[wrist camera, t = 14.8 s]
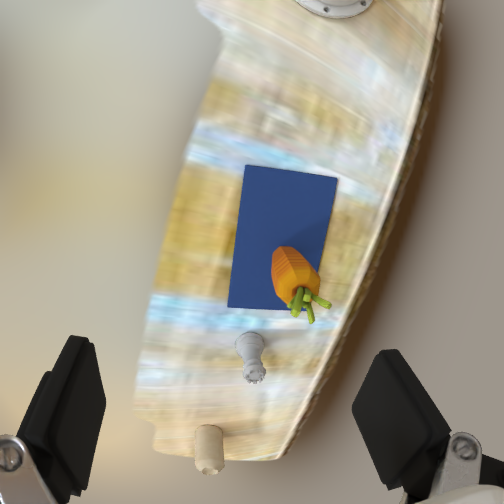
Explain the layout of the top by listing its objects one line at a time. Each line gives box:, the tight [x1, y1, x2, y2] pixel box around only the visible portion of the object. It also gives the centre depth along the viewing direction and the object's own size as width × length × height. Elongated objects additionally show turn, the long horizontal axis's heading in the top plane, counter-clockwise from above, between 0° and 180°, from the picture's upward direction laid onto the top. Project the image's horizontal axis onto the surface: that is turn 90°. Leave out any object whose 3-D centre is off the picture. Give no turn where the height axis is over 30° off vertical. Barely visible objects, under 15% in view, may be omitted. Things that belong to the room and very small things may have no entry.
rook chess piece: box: [235, 333, 266, 384], centre depth 46 cm, size 4×4×8 cm
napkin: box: [227, 165, 337, 311], centre depth 43 cm, size 20×12×1 cm, turn 172°
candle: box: [195, 425, 225, 475], centre depth 53 cm, size 6×6×10 cm
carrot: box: [271, 246, 332, 324], centre depth 36 cm, size 5×5×15 cm
